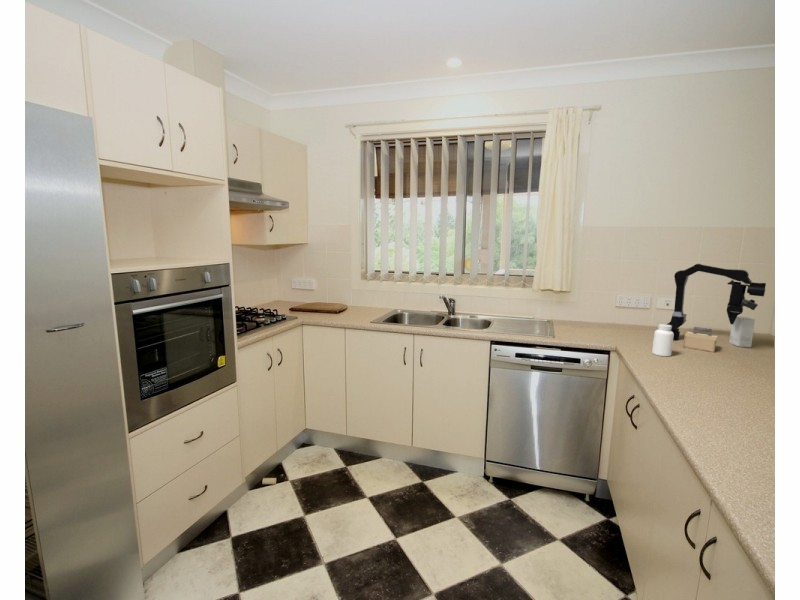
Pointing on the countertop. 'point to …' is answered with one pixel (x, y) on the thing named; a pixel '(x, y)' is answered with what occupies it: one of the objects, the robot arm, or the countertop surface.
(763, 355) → the countertop surface
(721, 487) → the countertop surface
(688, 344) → the wooden drawer
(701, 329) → the beige handled lid
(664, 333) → the pill bottle
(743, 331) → the skincare box
